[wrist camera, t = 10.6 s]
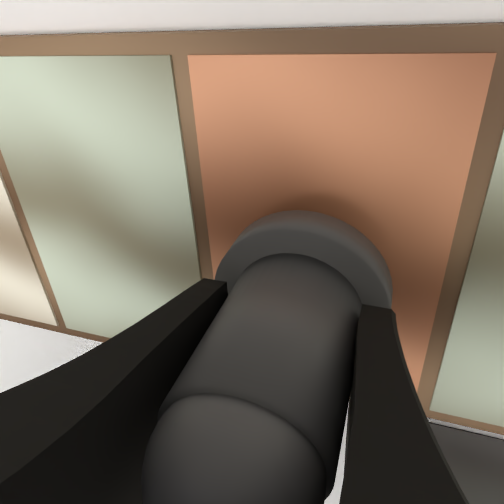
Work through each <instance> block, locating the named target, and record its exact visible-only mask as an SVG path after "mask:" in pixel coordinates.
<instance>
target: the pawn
mask: <svg viewBox="0 0 504 504" xmlns="http://www.w3.org/2000/svg"><path fill="white" fill-rule="evenodd" d="M215 280H219V281H225V282H227V290H228V297H227V299H226V300H225V302H224V303H223V305H222V307H221V308H220V310H219V312H218V313H217V315H216V316H215V318H214V320H213V321H212V323H211V325H210V326H209V328H208V330H207V331H206V333H205V334H204V336H203V338H202V339H201V341H200V343H199V344H198V346H197V347H196V349H195V351H194V352H193V354H192V356H191V357H190V359H189V360H188V362H187V364H186V365H185V367H184V369H183V370H182V372H181V374H180V375H179V377H178V378H177V380H176V382H175V383H174V385H173V387H172V388H171V390H170V391H169V393H168V395H167V396H166V398H165V400H164V401H163V403H162V405H161V407H160V409H159V412H158V416H157V425H156V427H155V429H154V431H153V432H152V434H151V436H150V439H149V442H148V444H147V447H146V451H145V455H144V460H143V465H142V475H141V488H142V500H143V504H324V500H325V499H326V498H327V497H328V496H329V495H330V493H331V491H332V489H333V487H334V482H335V477H336V471H337V466H338V460H339V454H340V449H341V443H342V437H343V431H344V426H345V420H346V414H347V409H348V403H349V397H350V392H351V386H352V378H353V366H354V354H355V345H356V336H357V327H358V321H359V317H360V312H361V308H362V304H365V305H371V306H377V307H383V308H389V309H391V306H392V294H393V286H392V278H391V275H390V271H389V268H388V266H387V264H386V261H385V259H384V258H383V256H382V255H381V253H380V251H379V250H378V249H377V248H376V246H375V245H374V244H373V243H372V242H371V241H370V240H369V239H368V238H367V237H366V236H365V235H364V234H363V233H361V232H360V231H358V230H357V229H356V228H354V227H353V226H351V225H349V224H347V223H346V222H344V221H342V220H340V219H337V218H335V217H332V216H329V215H326V214H322V213H319V212H313V211H305V210H290V211H281V212H277V213H272V214H270V215H267V216H264V217H262V218H260V219H258V220H256V221H254V222H253V223H252V224H250V225H249V226H248V227H246V228H245V229H244V230H243V231H242V232H241V233H240V235H239V236H238V238H237V239H236V240H235V242H234V243H233V245H232V246H231V247H230V249H229V250H228V252H227V253H226V254H225V256H224V257H223V259H222V260H221V262H220V264H219V266H218V268H217V271H216V275H215Z"/></svg>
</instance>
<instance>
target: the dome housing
mask: <svg viewBox="0 0 504 504" xmlns="http://www.w3.org/2000/svg"><path fill="white" fill-rule="evenodd" d="M429 424H430V426H431V428H432V431H433V433H434V435H435V437H436V439H437V442H438V444H439V446H440V448H441V450H442V452H443V454H444V456H445V458H446V460H447V462H448V464H449V466H450V468H451V470H452V472H453V474H454V476H455V478H456V480H457V482H458V484H459V486H460V488H461V489H462V491H463V493H464V495H465V497H466V498H467V500H468V502H469V504H504V440H500V439H496V438H491V437H487V436H483V435H479V434H474V433H470V432H466V431H462V430H457V429H453V428H449V427H445V426H440V425H436V424H432V423H429Z"/></svg>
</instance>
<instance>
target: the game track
mask: <svg viewBox="0 0 504 504" xmlns="http://www.w3.org/2000/svg"><path fill="white" fill-rule="evenodd" d="M290 210H305V211H313V212H319V213H322V214H326V215H329V216H332V217H335V218H337V219H340V220H342V221H344V222H346V223H347V224H349V225H351V226H353V227H354V228H356V229H357V230H358V231H360V232H361V233H363V234H364V235H365V236H366V237H367V238H368V239H369V240H370V241H371V242H372V243H373V244H374V245H375V246H376V248H377V249H378V250H379V251H380V253H381V255H382V256H383V258H384V259H385V261H386V264H387V266H388V268H389V271H390V275H391V278H392V286H393V294H392V306H391V309H392V310H393V311H394V313H395V314H396V322H397V329H398V334H399V338H400V342H401V346H402V350H403V353H404V357H405V360H406V363H407V367H408V369H409V372H410V375H411V378H412V381H413V384H414V386H415V389H416V392H417V395H418V397H419V400H420V402H421V405H422V407H423V410H424V412H425V414H426V417H428V418H432V419H437V420H441V421H445V422H450V423H454V424H458V425H462V426H467V427H471V428H475V429H480V430H484V431H488V432H493V433H497V434H501V435H504V22H498V23H460V24H422V25H383V26H345V27H307V28H269V29H231V30H192V31H154V32H116V33H78V34H39V35H1V36H0V319H4V320H8V321H13V322H17V323H21V324H26V325H30V326H34V327H39V328H43V329H47V330H52V331H56V332H60V333H65V334H69V335H73V336H78V337H82V338H86V339H91V340H95V341H99V342H105V341H107V340H109V339H110V338H112V337H114V336H115V335H117V334H119V333H120V332H122V331H124V330H125V329H127V328H129V327H130V326H132V325H134V324H135V323H137V322H138V321H140V320H141V319H143V318H144V317H146V316H147V315H149V314H150V313H152V312H153V311H155V310H157V309H158V308H160V307H161V306H163V305H164V304H166V303H167V302H168V301H170V300H171V299H173V298H174V297H176V296H177V295H179V294H180V293H182V292H183V291H185V290H186V289H188V288H189V287H191V286H192V285H194V284H195V283H197V282H198V281H200V280H202V279H203V278H207V279H213V280H215V275H216V271H217V268H218V266H219V264H220V262H221V260H222V259H223V257H224V256H225V254H226V253H227V252H228V250H229V249H230V247H231V246H232V245H233V243H234V242H235V240H236V239H237V238H238V236H239V235H240V233H241V232H242V231H243V230H244V229H245V228H246V227H248V226H249V225H250V224H252V223H253V222H254V221H256V220H258V219H260V218H262V217H264V216H267V215H270V214H272V213H277V212H281V211H290ZM349 399H350V397H349Z"/></svg>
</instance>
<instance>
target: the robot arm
mask: <svg viewBox="0 0 504 504" xmlns="http://www.w3.org/2000/svg"><path fill="white" fill-rule="evenodd" d="M227 297H228V290H227V282H225V281H219V280H213V279H207V278H203V279H202V280H200V281H198V282H197V283H195V284H194V285H192V286H191V287H189V288H188V289H186V290H185V291H183V292H182V293H180V294H179V295H177V296H176V297H174V298H173V299H171V300H170V301H168V302H167V303H166V304H164V305H163V306H161V307H160V308H158V309H157V310H155V311H153V312H152V313H150V314H149V315H147V316H146V317H144V318H143V319H141V320H140V321H138V322H137V323H135V324H134V325H132V326H130V327H129V328H127V329H125V330H124V331H122V332H120V333H119V334H117V335H115V336H114V337H112V338H110V339H109V340H107V341H105V342H104V343H102V344H100V345H99V346H97V347H95V348H94V349H92V350H90V351H88V352H86V353H85V354H83V355H81V356H79V357H77V358H75V359H73V360H71V361H69V362H67V363H65V364H63V365H61V366H59V367H57V368H55V369H53V370H51V371H49V372H47V373H45V374H43V375H41V376H39V377H37V378H34V379H32V380H30V381H27V382H25V383H23V384H20V385H18V386H16V387H13V388H11V389H9V390H7V391H4V392H2V393H0V504H143V500H142V488H141V475H142V465H143V460H144V455H145V451H146V447H147V444H148V442H149V439H150V436H151V434H152V432H153V431H154V429H155V427H156V425H157V416H158V412H159V409H160V407H161V405H162V403H163V401H164V400H165V398H166V396H167V395H168V393H169V391H170V390H171V388H172V387H173V385H174V383H175V382H176V380H177V378H178V377H179V375H180V374H181V372H182V370H183V369H184V367H185V365H186V364H187V362H188V360H189V359H190V357H191V356H192V354H193V352H194V351H195V349H196V347H197V346H198V344H199V343H200V341H201V339H202V338H203V336H204V334H205V333H206V331H207V330H208V328H209V326H210V325H211V323H212V321H213V320H214V318H215V316H216V315H217V313H218V312H219V310H220V308H221V307H222V305H223V303H224V302H225V300H226V299H227ZM339 504H469V502H468V500H467V498H466V497H465V495H464V493H463V491H462V489H461V488H460V486H459V484H458V482H457V480H456V478H455V476H454V474H453V472H452V470H451V468H450V466H449V464H448V462H447V460H446V458H445V456H444V454H443V452H442V450H441V448H440V446H439V444H438V442H437V439H436V437H435V435H434V433H433V431H432V428H431V426H430V424H429V421H428V419H427V417H426V414H425V412H424V410H423V407H422V405H421V402H420V400H419V397H418V395H417V392H416V389H415V386H414V384H413V381H412V378H411V375H410V372H409V369H408V367H407V363H406V360H405V357H404V353H403V350H402V346H401V342H400V338H399V334H398V329H397V322H396V314H395V313H394V311H393V310H392V309H389V308H383V307H377V306H371V305H365V304H362V308H361V312H360V317H359V321H358V327H357V336H356V345H355V354H354V366H353V378H352V386H351V392H350V399H349V408H348V421H347V436H346V451H345V466H344V479H343V485H342V491H341V497H340V503H339Z"/></svg>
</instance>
